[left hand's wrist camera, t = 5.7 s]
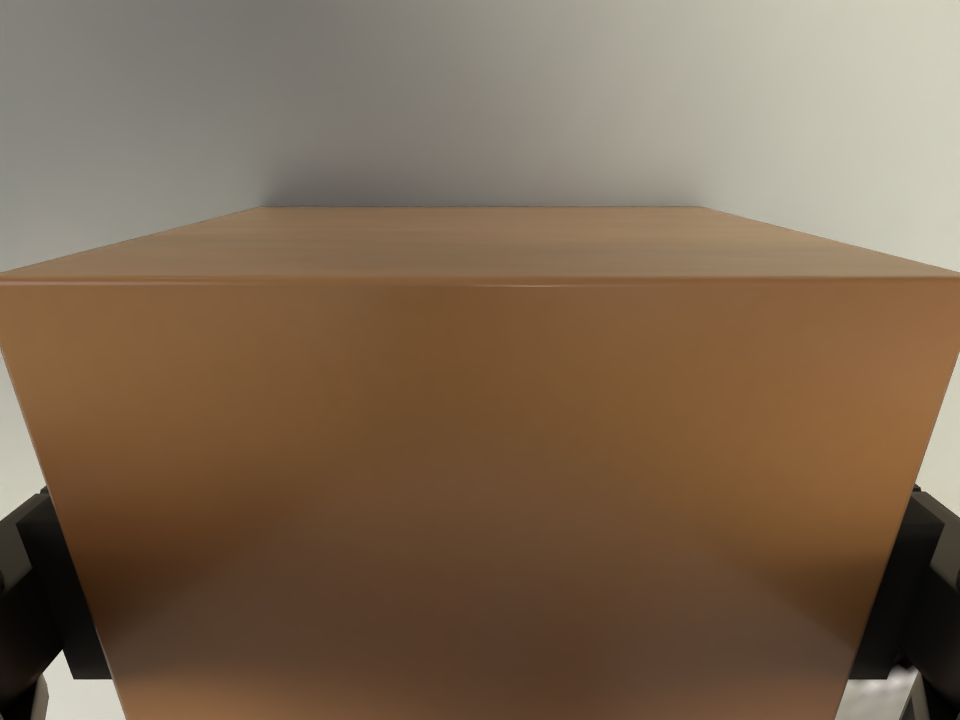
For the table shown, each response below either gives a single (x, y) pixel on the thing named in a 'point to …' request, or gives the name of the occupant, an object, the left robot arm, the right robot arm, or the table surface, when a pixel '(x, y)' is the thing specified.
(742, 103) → the table surface
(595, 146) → the table surface
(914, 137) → the table surface
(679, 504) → the wooden beam
